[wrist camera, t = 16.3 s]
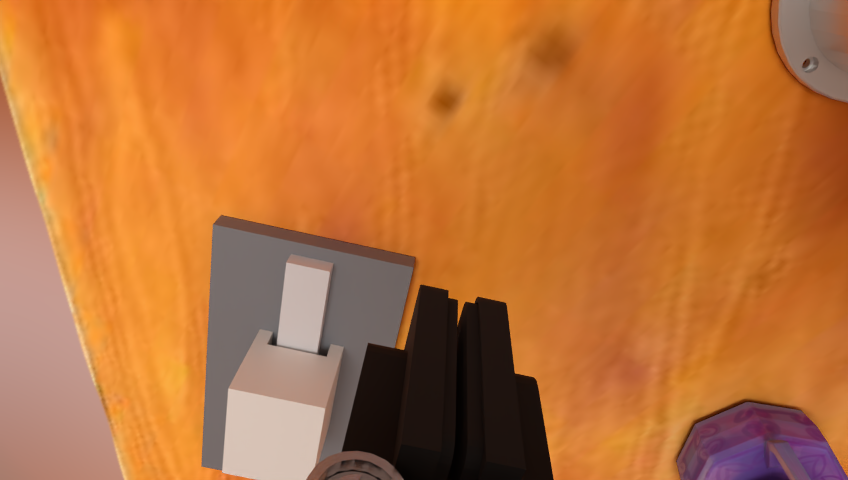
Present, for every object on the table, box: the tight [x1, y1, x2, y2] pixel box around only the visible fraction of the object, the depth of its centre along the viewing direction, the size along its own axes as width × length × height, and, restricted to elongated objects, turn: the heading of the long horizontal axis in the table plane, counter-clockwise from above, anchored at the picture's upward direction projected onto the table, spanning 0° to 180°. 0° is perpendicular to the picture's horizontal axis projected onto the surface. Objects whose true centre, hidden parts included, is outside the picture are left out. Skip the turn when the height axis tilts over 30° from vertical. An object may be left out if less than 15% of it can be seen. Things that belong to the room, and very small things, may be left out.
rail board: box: [202, 215, 415, 470], centre depth 45 cm, size 14×24×3 cm, turn 168°
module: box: [222, 329, 344, 480], centre depth 42 cm, size 6×8×6 cm
